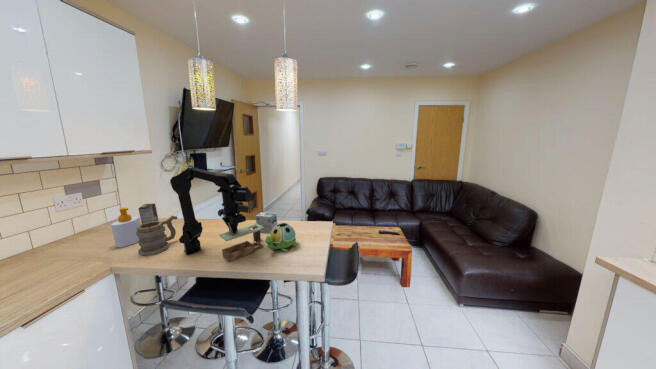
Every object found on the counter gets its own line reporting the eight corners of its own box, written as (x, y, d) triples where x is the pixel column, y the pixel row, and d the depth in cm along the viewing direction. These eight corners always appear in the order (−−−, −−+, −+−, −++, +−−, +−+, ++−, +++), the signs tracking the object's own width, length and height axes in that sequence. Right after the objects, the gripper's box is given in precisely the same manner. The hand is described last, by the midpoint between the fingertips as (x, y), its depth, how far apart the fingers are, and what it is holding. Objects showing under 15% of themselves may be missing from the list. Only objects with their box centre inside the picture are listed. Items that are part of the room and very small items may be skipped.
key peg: (256, 242, 131) (254, 228, 130) (253, 240, 133) (252, 227, 132) (260, 240, 133) (259, 227, 131) (258, 239, 135) (257, 225, 133)
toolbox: (229, 261, 112) (228, 255, 111) (222, 256, 118) (221, 249, 117) (264, 248, 124) (264, 241, 124) (257, 243, 130) (256, 237, 129)
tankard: (146, 257, 118) (140, 229, 115) (135, 251, 125) (129, 224, 122) (187, 241, 135) (183, 216, 131) (176, 237, 141) (171, 212, 138)
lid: (226, 241, 109) (224, 230, 108) (219, 236, 115) (218, 225, 114) (264, 228, 122) (263, 219, 121) (256, 224, 128) (255, 215, 127)
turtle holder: (258, 252, 120) (256, 230, 118) (285, 238, 135) (283, 218, 132) (275, 259, 113) (273, 235, 111) (301, 244, 128) (300, 223, 125)
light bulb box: (278, 229, 148) (276, 212, 146) (272, 233, 142) (271, 216, 139) (262, 228, 151) (261, 211, 149) (256, 232, 145) (255, 215, 142)
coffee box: (148, 227, 157) (143, 204, 154) (160, 226, 159) (155, 202, 156) (143, 233, 149) (137, 208, 145) (155, 231, 151) (150, 206, 147)
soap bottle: (122, 248, 129) (113, 212, 124) (112, 246, 131) (103, 211, 127) (147, 238, 141) (140, 205, 136) (137, 236, 144) (130, 204, 139)
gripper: (254, 201, 111) (258, 232, 114) (237, 194, 124) (241, 222, 128) (231, 206, 104) (235, 240, 107) (215, 198, 117) (219, 228, 120)
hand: (233, 232), depth 116 cm, fingers closed on lid, 3 cm apart
